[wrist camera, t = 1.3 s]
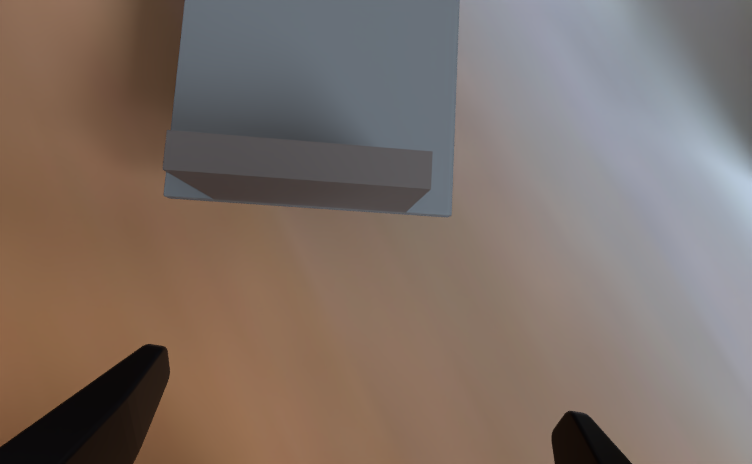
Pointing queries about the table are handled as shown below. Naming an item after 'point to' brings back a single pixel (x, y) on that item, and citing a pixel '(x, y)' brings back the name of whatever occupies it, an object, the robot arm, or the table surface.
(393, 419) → the table surface
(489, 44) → the table surface
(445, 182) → the lid
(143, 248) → the table surface
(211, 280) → the table surface
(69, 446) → the robot arm
